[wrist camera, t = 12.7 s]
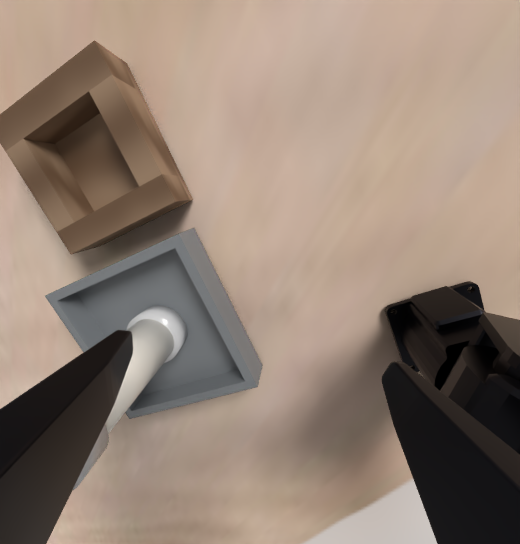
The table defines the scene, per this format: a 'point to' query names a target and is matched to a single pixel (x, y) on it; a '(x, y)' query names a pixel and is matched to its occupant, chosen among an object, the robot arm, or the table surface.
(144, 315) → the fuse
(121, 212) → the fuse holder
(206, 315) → the parts tray
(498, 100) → the table surface
